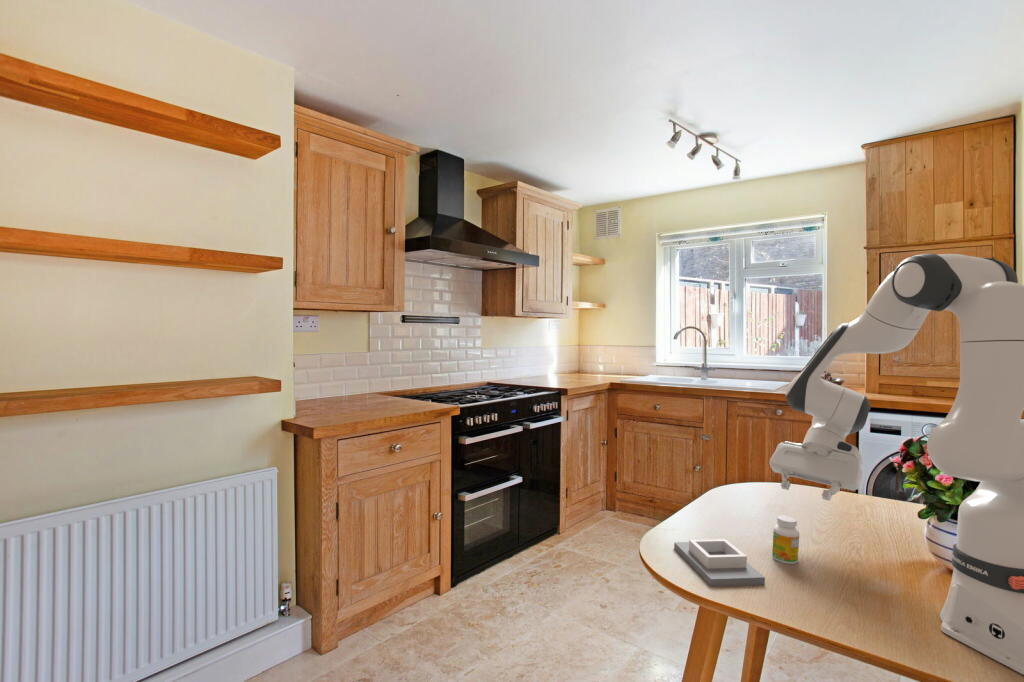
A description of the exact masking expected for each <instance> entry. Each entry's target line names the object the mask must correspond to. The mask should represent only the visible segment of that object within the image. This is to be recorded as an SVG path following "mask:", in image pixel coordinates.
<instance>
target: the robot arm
mask: <svg viewBox="0 0 1024 682" xmlns="http://www.w3.org/2000/svg"><path fill="white" fill-rule="evenodd" d="M931 311H934V312H938V313H939V312H942V311H948V312H951V313H953V315H955V317H956V318H957V320H958V324H959V357H960V358H959V382H958V390H957V393H956V396H955V398H954V402H953V404H952V406H951V408H950V410H949V411H948V413H947V415H946V417H945V418H944V419H943V420H942V421H941V422H940V423H939V424H938V425H936V426H935V427H934V428H933V429H932V430H931V431H930V432H929V434H928V437H927V441H926V442H927V443H926V451H927V454H928V457H929V459H930V461H931V463H932V464H933V465H934V467H936V469H937V470H938V471H940V472H942V473H943V474H944V475H947V476H950V477H953V478H957V479H961V480H967V481H972V482H979V484H978V486H977V487H976V489H975V490H974V491H973V492H972V493H971V494H970V495H969V496H967V497H965V499H964V500H962V502H961V503H960V505H959V507H958V513H957V514H958V515H957V529H956V540H955V541H956V542H955V543H954V544H953V546H952V552H951V565H952V566H953V568H952V569H953V570H952V571H953V572H952V574H951V575H952V576H951V580H950V586H949V589H948V594H947V597H946V599H945V602H944V605H943V607H942V609H941V611H940V612H939V619H940V620H941V625H940V631H941V632H943V633H944V634H945V635H947V636H949V637H951V638H953V639H955V640H957V641H959V642H961V643H962V644H965V645H966V646H968V647H970V648H972V649H974V650H975V651H978V652H979V653H982V654H984V655H986V656H987V657H989V658H991V659H993V660H995V661H997V662H998V663H1001V664H1002V665H1005V666H1006V667H1009V668H1010V669H1012V670H1014V671H1016V672H1017V673H1019V674H1021V675H1023V676H1024V418H1023V419H1022V415H1023V413H1024V284H1021V283H1019V279H1018V275H1017V273H1016V271H1015V270H1014V268H1013V267H1012V266H1011V265H1009V264H1008V263H1006V262H1004V261H1001V260H998V259H995V258H991V257H978V256H971V255H966V254H962V253H961V254H960V253H936V254H935V253H920V254H916V255H913V256H909V257H907V258H904V259H903V260H902V261H901V262H900V263H898V265H897V266H896V268H895V269H894V271H892V272H890V273H889V274H888V275H887V276H886V278H885V279H884V280H883V281H882V282H881V283H880V285H879V286H878V287H877V289H876V290H875V292H874V293H873V295H872V296H871V297H870V299H869V301H868V303H867V305H866V307H865V309H864V310H863V312H862V313H861V314H860V315H859V316H857V317H856V318H855V319H853V320H852V321H849V322H842V323H841V324H839V325H838V326H837V327H836V328H835V329H834V330H833V331H832V332H831V333H830V335H829V336H828V337H827V338H826V339H825V340H824V341H823V343H822V344H821V345H820V346H819V348H818V349H817V351H816V352H815V353H814V354H813V355H812V357H811V358H810V359H809V361H808V362H807V363H806V365H805V366H804V367H803V369H802V370H801V371H800V372H798V374H797V375H796V376H795V377H793V379H791V381H790V382H789V384H788V385H787V387H786V390H785V395H784V397H785V400H786V402H787V403H788V405H789V406H790V409H791V410H794V411H796V412H800V413H803V414H808V415H809V416H812V419H811V426H810V427H809V428H808V429H807V432H806V433H805V435H804V439H803V441H802V443H797V442H791V441H787V440H786V441H783V442H779V443H778V444H777V446H776V448H775V451H774V452H773V454H772V455H771V457H770V459H769V466H770V468H771V470H772V471H773V473H775V474H780V476H781V479H782V481H781V484H780V486H781V490H786V491H789V490H790V488H791V483H790V481H789V480H787V479H789V478H790V477H793V478H798V479H802V480H806V481H809V482H810V481H811V482H814V483H818V484H823V485H828V486H830V488H829V489H823V490H822V494H821V498H822V500H825V501H828V502H830V501H831V499H832V497H833V496H834V495H836V494H837V493H839V492H840V490H841V489H843V490H844V489H845V490H849V491H852V492H853V491H854V492H855V491H856V490H858V489H860V487H861V484H862V478H863V470H862V465H863V461H862V455H861V453H860V451H859V449H858V447H857V446H855V445H853V444H851V443H848V442H846V438H847V436H848V435H852V434H855V433H857V432H859V431H861V430H862V429H864V427H865V425H866V422H867V421H868V420H867V419H868V417H869V413H870V410H871V408H872V406H871V403H870V401H869V399H868V397H867V396H866V395H865V394H862V393H861V392H858V391H856V390H853V389H851V388H848V387H845V386H843V385H842V386H841V385H839V384H837V383H833V382H832V381H829V380H826V379H824V378H822V375H823V374H824V373H825V372H826V370H827V369H828V368H829V366H830V365H831V364H832V362H834V360H836V358H838V357H840V356H842V355H848V354H872V355H882V354H890V353H894V352H897V351H898V352H899V351H901V350H902V349H904V348H906V347H908V345H910V343H911V342H912V341H913V340H914V338H915V337H916V335H918V332H919V331H920V329H921V327H922V326H923V324H924V322H925V321H926V318H927V317H928V315H929V314H930V313H931Z"/></svg>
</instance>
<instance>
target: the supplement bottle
mask: <svg viewBox="0 0 1024 682" xmlns="http://www.w3.org/2000/svg"><path fill="white" fill-rule="evenodd" d="M776 520H777V521H776V522H777V524H775V526H774V527H773V531H772V533H773V534H772V550H771V551H772V552H771V557H772V558H773V559H774V560H775V561H777V562H779V563H781V564H787V565H795V564H797V563H798V560H799V547H800V546H799V545H800V531H799V529H798V528H797V525H798V524H797V519H796V518H794V517H792V516H788V515H778V516H777V518H776Z"/></svg>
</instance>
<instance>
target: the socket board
mask: <svg viewBox="0 0 1024 682" xmlns="http://www.w3.org/2000/svg"><path fill="white" fill-rule="evenodd" d="M673 547H674V550H675V551H676V552H677V553H678V554H679V555H680V556H681V557H682V558H683V559H684V561H686V562H687V563H688V565H690V566H691V567H692V569H694V570H695V571H696V573H698V575H699V576H700V577H701V578H702V579H703V580H704V581H705V582H706V583H707V584H708V585H709V586H710V587H722V586H723V587H725V586H726V587H727V586H751V585H752V586H753V585H754V586H755V585H758V586H759V585H760V586H761V585H765V584H766V581H765V580H766V577H765V576H764V575H763V574H762V573H761V572H759V571H758V570H757V569H756V568H755V567H753V566H752V565H751V564H749V563H748V556H747V555H746V554H745V553H743V551H741V550H740V549H738V548H737V546H735V545H734V544H732V543H731V542H730V541H728V539H725V538H717V539H716V538H715V539H689V541H681V542H680V541H678V542H675V541H674V546H673Z"/></svg>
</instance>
